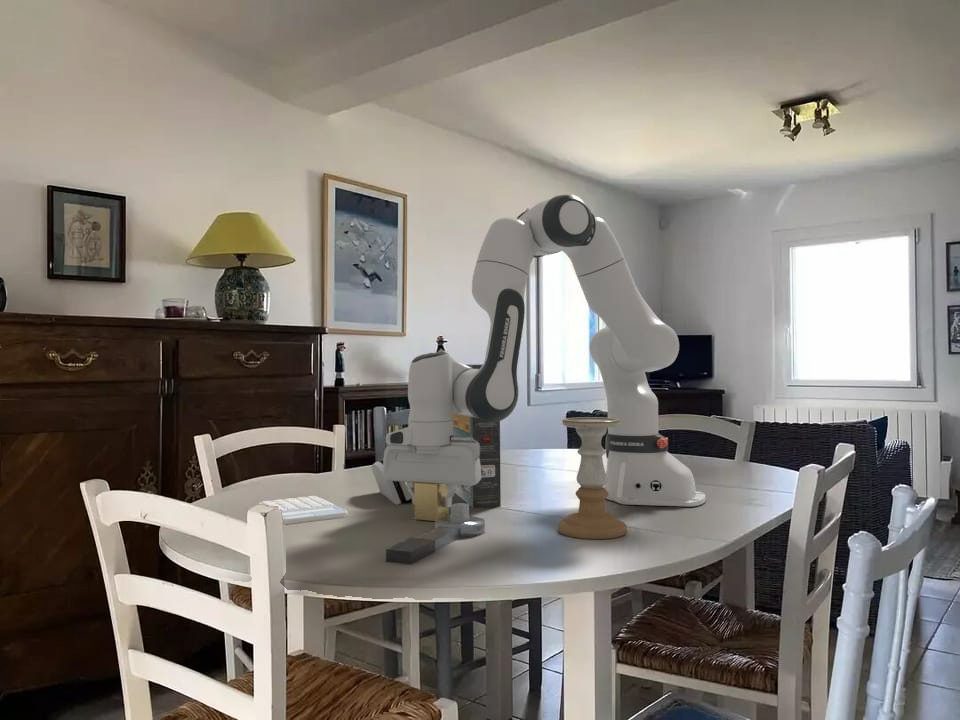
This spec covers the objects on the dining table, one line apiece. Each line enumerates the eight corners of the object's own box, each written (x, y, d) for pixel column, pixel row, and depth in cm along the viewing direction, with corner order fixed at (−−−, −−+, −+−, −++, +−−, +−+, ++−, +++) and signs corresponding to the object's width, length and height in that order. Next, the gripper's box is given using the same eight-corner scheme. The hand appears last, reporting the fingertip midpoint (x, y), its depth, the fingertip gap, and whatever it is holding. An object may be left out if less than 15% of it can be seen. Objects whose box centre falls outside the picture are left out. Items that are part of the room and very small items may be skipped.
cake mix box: (500, 506, 155) (499, 364, 155) (472, 507, 154) (471, 364, 154) (476, 489, 176) (475, 364, 176) (452, 490, 175) (450, 364, 175)
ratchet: (448, 525, 138) (448, 498, 138) (492, 529, 135) (492, 501, 135) (373, 560, 114) (373, 528, 114) (424, 566, 110) (424, 533, 110)
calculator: (317, 503, 163) (317, 494, 163) (350, 519, 146) (350, 509, 146) (256, 509, 156) (256, 500, 156) (283, 527, 139) (283, 517, 139)
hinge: (418, 502, 160) (403, 460, 158) (398, 511, 158) (382, 469, 157) (400, 490, 175) (386, 451, 174) (382, 498, 174) (367, 459, 173)
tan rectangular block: (449, 515, 145) (448, 480, 145) (437, 521, 140) (437, 484, 140) (426, 514, 147) (426, 479, 147) (414, 519, 142) (414, 483, 142)
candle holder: (627, 525, 136) (626, 416, 136) (627, 541, 124) (625, 422, 124) (561, 522, 139) (560, 416, 139) (554, 538, 127) (553, 421, 127)
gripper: (486, 435, 142) (487, 506, 142) (394, 432, 151) (395, 499, 151) (472, 438, 137) (473, 512, 137) (378, 435, 145) (379, 505, 145)
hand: (431, 505), depth 144 cm, fingers closed on tan rectangular block, 5 cm apart
